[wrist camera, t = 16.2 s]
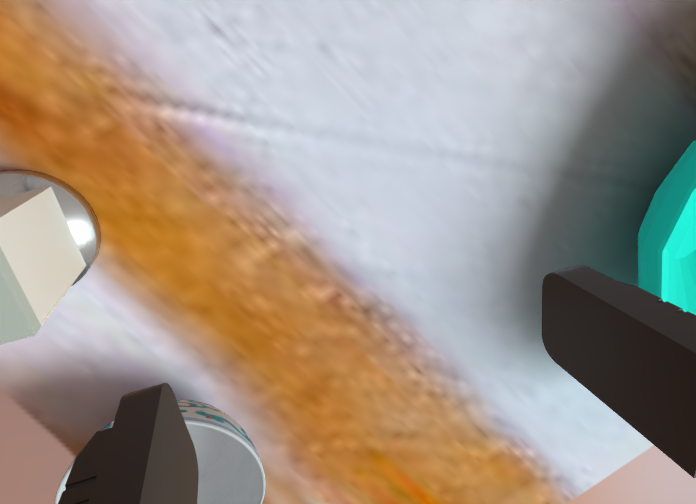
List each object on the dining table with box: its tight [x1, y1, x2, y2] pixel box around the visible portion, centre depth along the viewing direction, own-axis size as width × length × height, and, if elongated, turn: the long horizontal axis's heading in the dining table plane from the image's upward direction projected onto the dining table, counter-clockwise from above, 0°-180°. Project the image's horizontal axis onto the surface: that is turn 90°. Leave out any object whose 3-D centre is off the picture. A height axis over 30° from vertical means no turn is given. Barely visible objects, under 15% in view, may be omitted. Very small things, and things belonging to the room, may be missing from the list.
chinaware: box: [55, 399, 265, 504], centre depth 38 cm, size 15×15×8 cm
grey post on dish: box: [0, 170, 101, 286], centre depth 29 cm, size 9×9×8 cm
